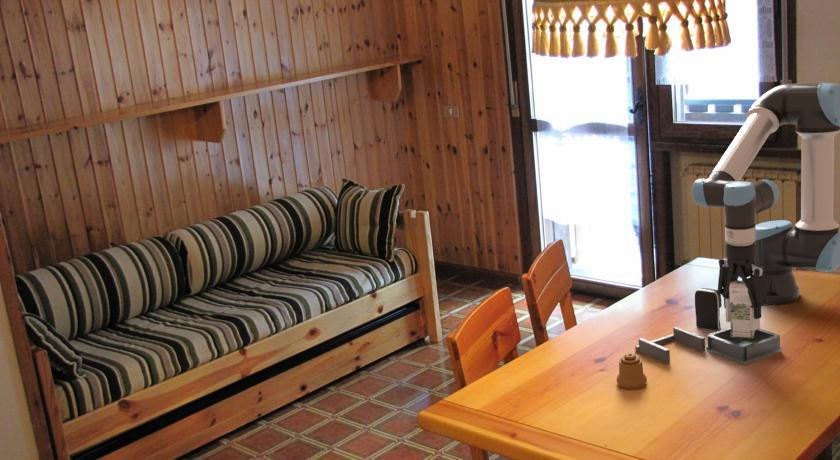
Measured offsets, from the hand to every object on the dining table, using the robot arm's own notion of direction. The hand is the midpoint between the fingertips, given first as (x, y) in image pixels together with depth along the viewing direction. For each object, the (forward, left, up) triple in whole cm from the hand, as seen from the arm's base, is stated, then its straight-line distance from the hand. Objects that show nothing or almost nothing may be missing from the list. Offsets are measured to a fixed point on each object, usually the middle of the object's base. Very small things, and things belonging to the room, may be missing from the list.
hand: (742, 324), depth 246 cm
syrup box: (0, 0, -3) cm, 3 cm away
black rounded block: (-6, -19, -8) cm, 21 cm away
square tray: (0, 0, -8) cm, 8 cm away
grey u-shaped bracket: (+14, -12, -8) cm, 20 cm away
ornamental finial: (+35, -3, -8) cm, 36 cm away
